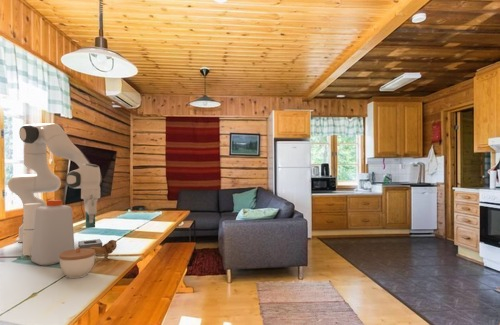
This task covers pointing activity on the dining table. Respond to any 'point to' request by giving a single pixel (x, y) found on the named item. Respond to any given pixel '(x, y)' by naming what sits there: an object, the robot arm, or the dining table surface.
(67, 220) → the plastic bottle
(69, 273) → the lidded bowl
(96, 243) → the bore block
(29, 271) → the dining table surface
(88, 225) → the teal pin
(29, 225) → the cylindrical container
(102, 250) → the lion figurine
